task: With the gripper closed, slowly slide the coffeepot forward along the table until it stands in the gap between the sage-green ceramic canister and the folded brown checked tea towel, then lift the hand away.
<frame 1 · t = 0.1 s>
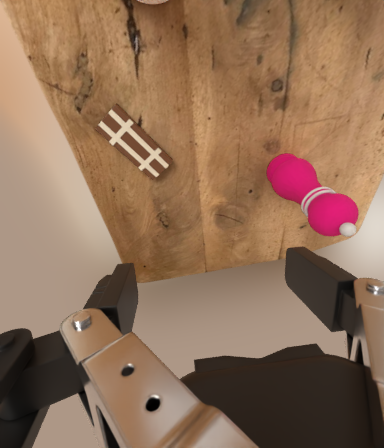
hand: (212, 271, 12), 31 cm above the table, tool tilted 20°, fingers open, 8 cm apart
pepper mill: (281, 168, 44), on the table
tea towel: (136, 144, 38), on the table
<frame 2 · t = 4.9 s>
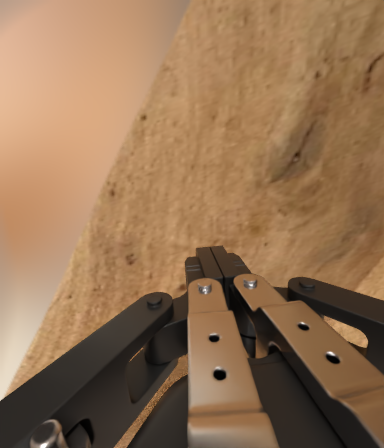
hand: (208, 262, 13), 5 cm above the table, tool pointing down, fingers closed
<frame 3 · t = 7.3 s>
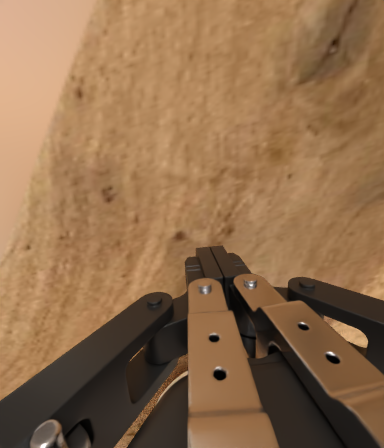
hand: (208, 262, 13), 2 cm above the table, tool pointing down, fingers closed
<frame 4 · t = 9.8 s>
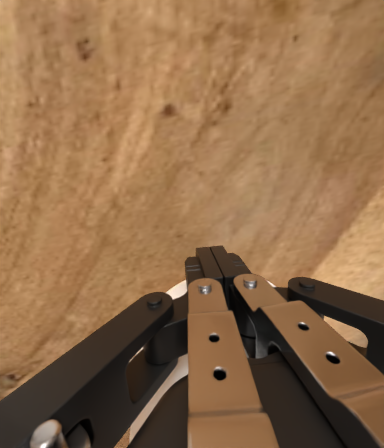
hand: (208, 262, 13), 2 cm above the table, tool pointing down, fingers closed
coffeepot: (210, 332, 16), on the table, touching gripper
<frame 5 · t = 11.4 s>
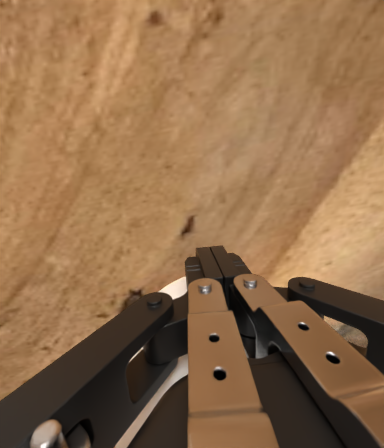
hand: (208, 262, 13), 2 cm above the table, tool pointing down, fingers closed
coffeepot: (202, 332, 16), on the table, touching gripper
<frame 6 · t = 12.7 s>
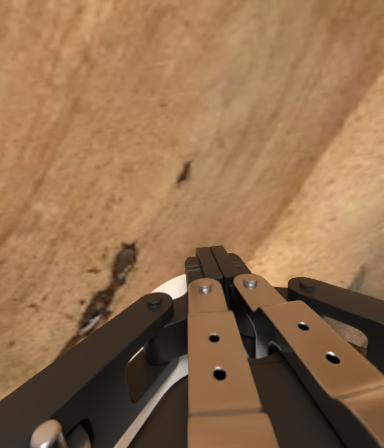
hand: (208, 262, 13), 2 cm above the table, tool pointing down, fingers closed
coffeepot: (197, 332, 16), on the table, touching gripper
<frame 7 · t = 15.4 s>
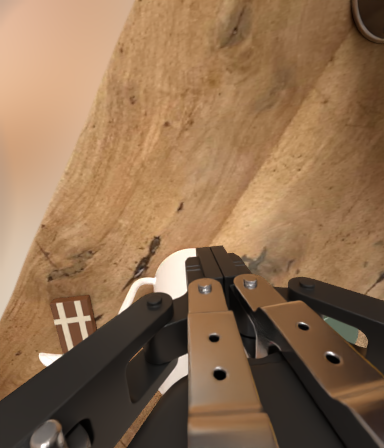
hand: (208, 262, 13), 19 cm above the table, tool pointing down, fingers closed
canister: (304, 308, 38), on the table
coffeepot: (187, 278, 34), on the table
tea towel: (79, 331, 34), on the table
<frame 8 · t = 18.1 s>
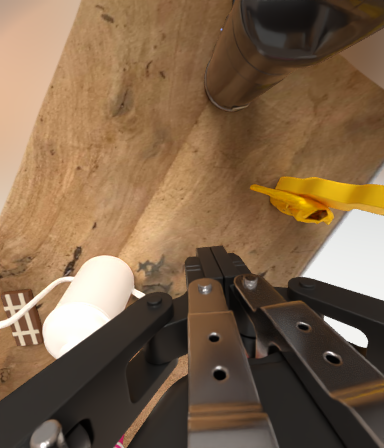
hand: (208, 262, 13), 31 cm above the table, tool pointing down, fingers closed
figure statuette: (286, 193, 45), on the table
coffeepot: (105, 277, 46), on the table
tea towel: (25, 316, 46), on the table
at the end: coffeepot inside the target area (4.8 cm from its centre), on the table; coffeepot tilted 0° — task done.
